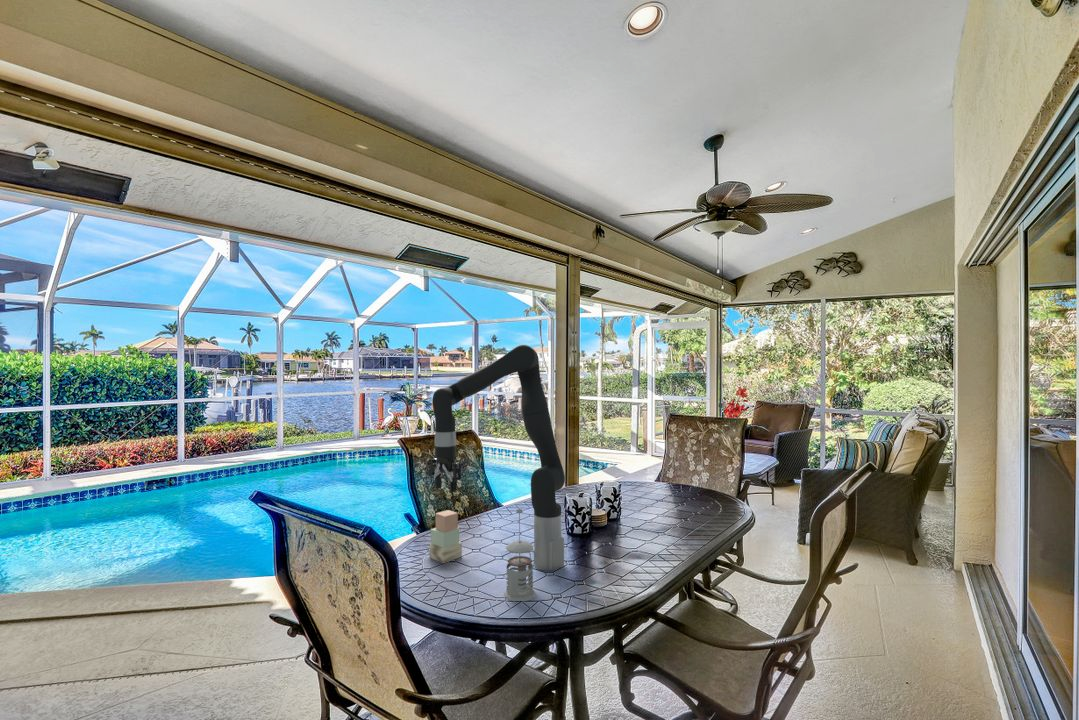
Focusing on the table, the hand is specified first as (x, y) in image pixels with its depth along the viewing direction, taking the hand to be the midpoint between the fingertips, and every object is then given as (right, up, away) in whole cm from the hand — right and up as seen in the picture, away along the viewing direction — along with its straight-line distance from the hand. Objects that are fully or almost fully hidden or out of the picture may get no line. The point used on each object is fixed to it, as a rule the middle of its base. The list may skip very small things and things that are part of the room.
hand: (445, 490), depth 172 cm
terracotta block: (0, -14, 0) cm, 14 cm away
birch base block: (0, -24, 0) cm, 24 cm away
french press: (+28, -23, -28) cm, 46 cm away
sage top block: (0, -19, 0) cm, 19 cm away
